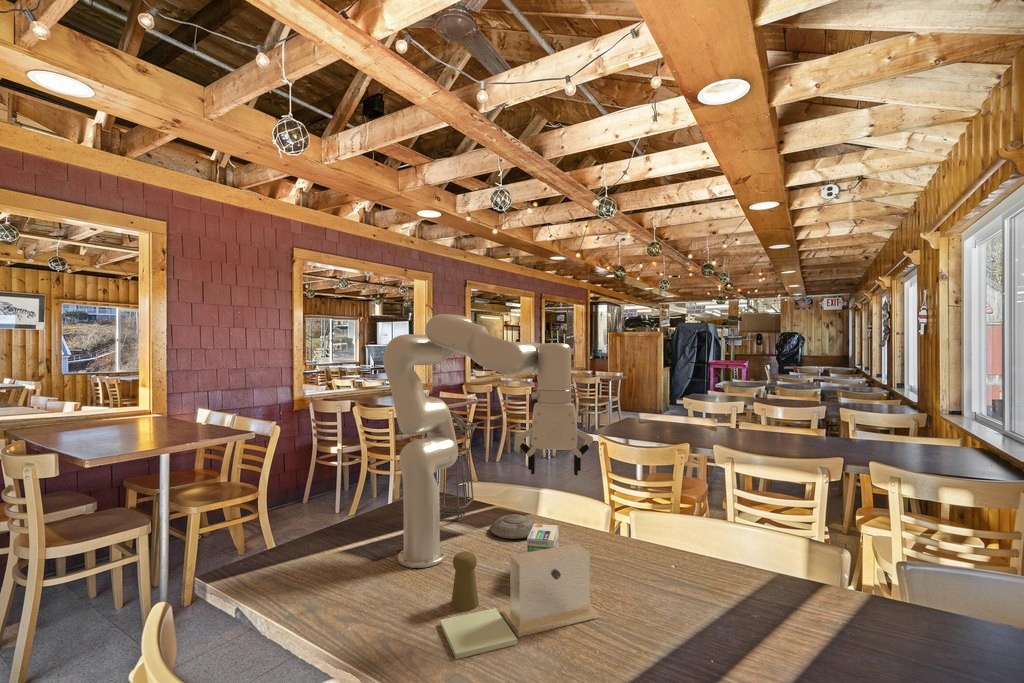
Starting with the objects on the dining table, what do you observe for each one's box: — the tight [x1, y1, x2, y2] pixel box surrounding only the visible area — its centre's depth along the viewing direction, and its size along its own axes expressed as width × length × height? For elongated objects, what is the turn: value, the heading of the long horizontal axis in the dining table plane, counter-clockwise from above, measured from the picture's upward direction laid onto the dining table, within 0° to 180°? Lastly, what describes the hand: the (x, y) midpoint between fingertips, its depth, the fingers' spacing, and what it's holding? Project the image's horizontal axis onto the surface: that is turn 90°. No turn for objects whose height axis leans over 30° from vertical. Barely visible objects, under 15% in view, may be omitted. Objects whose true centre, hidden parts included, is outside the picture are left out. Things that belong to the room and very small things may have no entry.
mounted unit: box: [499, 543, 599, 638], centre depth 104 cm, size 10×18×13 cm, turn 112°
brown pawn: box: [450, 551, 480, 612], centre depth 109 cm, size 6×6×11 cm
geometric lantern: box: [425, 410, 478, 522], centre depth 166 cm, size 16×16×35 cm
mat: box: [439, 607, 518, 660], centre depth 97 cm, size 12×12×1 cm
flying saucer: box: [489, 513, 537, 540], centre depth 151 cm, size 15×15×6 cm
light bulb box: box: [526, 523, 560, 552], centre depth 123 cm, size 11×7×11 cm, turn 168°
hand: (554, 473), depth 112 cm, fingers open, 9 cm apart
